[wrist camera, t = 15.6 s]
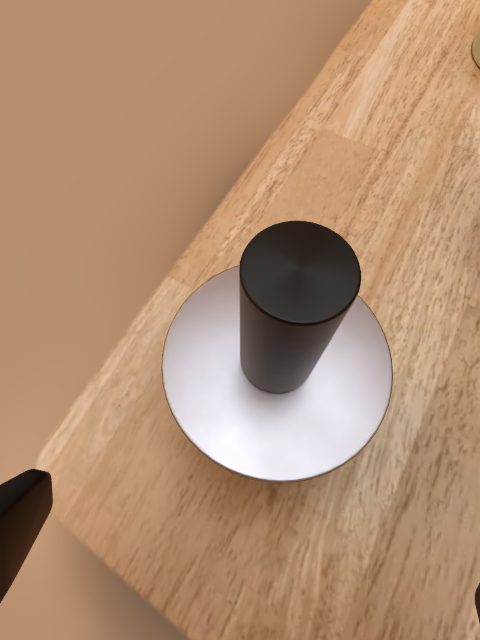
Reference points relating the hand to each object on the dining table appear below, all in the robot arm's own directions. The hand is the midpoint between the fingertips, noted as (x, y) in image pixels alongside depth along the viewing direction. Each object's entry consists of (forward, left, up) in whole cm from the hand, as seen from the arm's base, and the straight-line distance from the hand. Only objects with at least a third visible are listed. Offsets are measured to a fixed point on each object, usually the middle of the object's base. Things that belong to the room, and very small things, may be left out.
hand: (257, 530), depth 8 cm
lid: (+4, +3, -5) cm, 7 cm away
